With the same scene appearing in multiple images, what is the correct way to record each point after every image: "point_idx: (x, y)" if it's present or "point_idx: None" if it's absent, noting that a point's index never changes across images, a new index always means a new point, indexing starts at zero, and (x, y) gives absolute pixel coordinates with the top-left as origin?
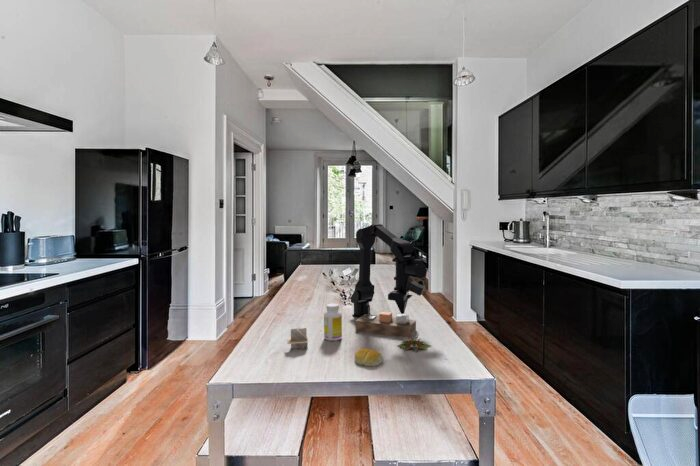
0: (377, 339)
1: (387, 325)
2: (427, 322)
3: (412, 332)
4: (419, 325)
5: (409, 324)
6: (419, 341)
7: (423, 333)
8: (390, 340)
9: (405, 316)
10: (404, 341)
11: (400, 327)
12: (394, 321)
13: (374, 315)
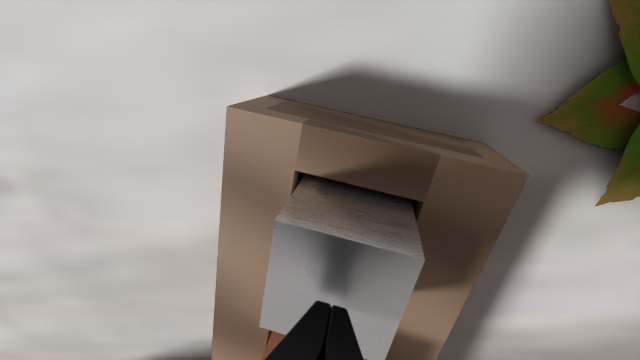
0: (524, 346)
1: (436, 354)
2: (35, 6)
3: (372, 121)
4: (138, 72)
5: (393, 172)
6: (628, 32)
7: (332, 16)
8: (546, 274)
9: (387, 267)
10: (617, 178)
11: (484, 255)
12: None
13: None
